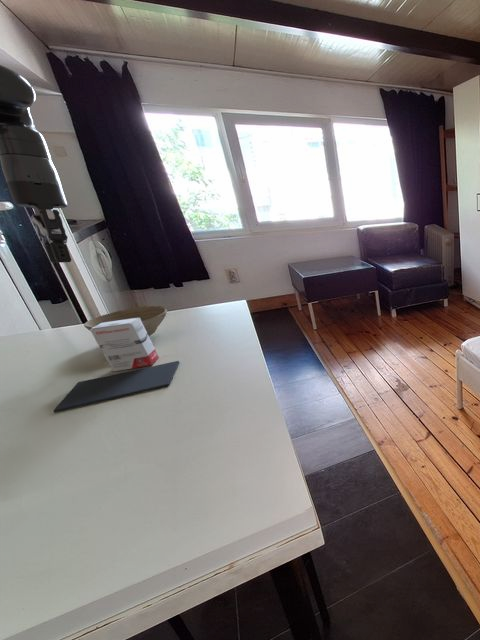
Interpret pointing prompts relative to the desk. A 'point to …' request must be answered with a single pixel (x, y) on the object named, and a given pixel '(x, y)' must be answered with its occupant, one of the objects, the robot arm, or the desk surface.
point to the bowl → (147, 314)
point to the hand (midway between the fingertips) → (61, 262)
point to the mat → (118, 385)
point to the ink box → (125, 344)
